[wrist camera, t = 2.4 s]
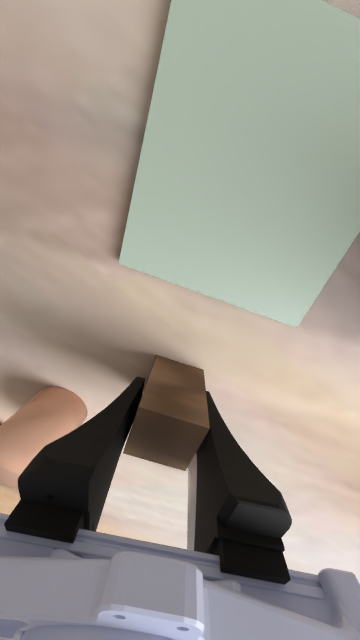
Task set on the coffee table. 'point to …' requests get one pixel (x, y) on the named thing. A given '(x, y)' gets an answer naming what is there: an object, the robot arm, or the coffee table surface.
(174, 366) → the walnut block
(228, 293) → the sage board
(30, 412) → the pink rounded capsule
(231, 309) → the coffee table surface
